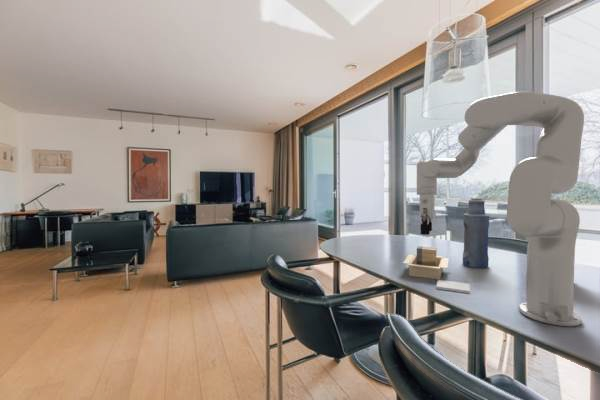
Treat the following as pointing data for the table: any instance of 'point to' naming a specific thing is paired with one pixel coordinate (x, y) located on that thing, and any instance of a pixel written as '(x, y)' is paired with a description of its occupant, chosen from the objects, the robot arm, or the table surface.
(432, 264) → the block
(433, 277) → the carton
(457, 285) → the felt mat
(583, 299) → the table surface
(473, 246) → the bottle
